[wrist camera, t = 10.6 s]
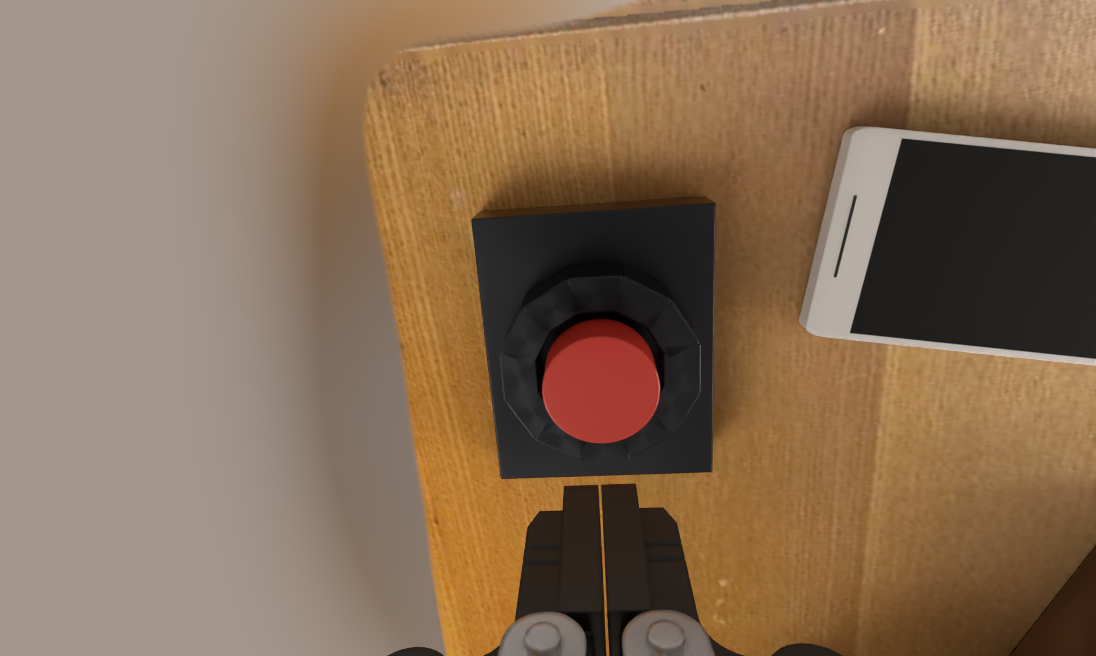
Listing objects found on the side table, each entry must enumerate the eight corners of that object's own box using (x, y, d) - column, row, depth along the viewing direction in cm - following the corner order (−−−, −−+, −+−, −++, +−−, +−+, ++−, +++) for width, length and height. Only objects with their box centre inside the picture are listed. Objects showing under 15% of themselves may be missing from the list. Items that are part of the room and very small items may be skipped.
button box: (479, 211, 23) (460, 228, 19) (706, 195, 22) (727, 211, 19) (505, 456, 26) (494, 507, 23) (704, 449, 25) (722, 500, 22)
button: (541, 320, 20) (537, 339, 19) (653, 315, 20) (659, 333, 19) (549, 420, 22) (546, 445, 20) (655, 416, 21) (661, 442, 20)
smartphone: (1225, 373, 23) (1252, 383, 22) (795, 327, 23) (804, 336, 22) (1324, 170, 20) (1358, 173, 20) (843, 123, 21) (855, 124, 20)
